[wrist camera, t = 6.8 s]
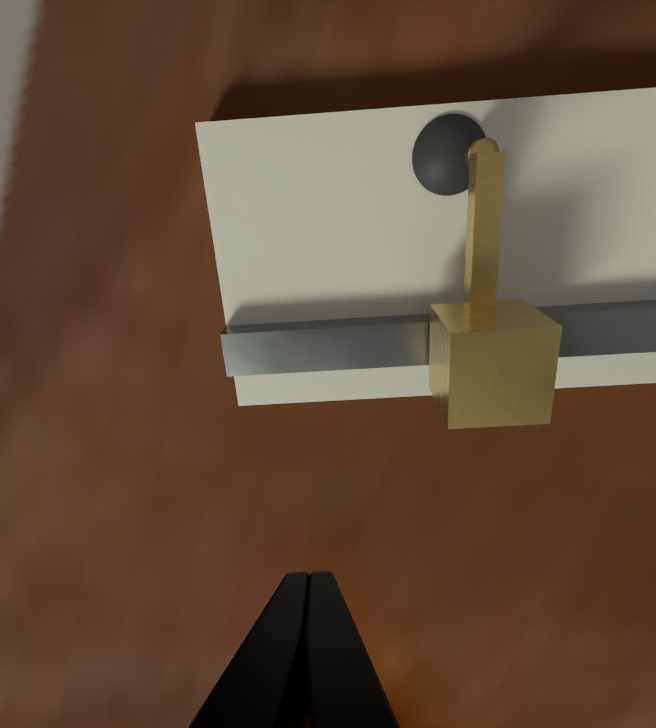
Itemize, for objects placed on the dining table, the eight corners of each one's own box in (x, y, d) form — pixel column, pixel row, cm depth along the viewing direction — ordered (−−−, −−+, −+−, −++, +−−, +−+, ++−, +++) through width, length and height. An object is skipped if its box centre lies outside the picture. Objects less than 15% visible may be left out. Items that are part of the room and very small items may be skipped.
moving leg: (526, 135, 15) (587, 124, 11) (506, 372, 18) (549, 423, 14) (427, 143, 15) (457, 135, 11) (424, 377, 18) (447, 429, 14)
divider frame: (908, 108, 15) (1123, 85, 11) (824, 349, 18) (968, 401, 14) (200, 160, 15) (154, 157, 11) (234, 382, 18) (207, 441, 14)
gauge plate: (934, 71, 16) (997, 61, 14) (832, 356, 19) (873, 372, 18) (206, 126, 16) (194, 122, 15) (245, 389, 20) (238, 406, 19)
